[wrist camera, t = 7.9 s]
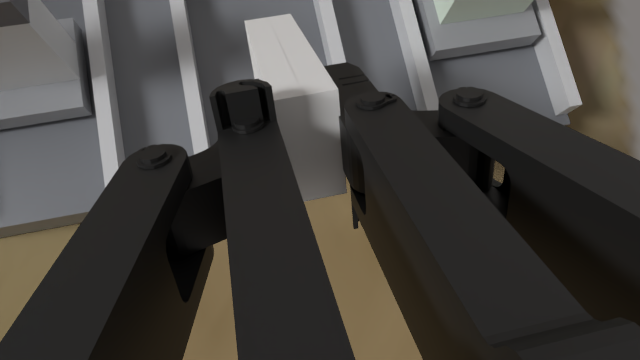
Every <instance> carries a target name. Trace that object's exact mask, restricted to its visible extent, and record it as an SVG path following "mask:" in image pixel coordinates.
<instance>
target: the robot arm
mask: <svg viewBox="0 0 640 360" xmlns="http://www.w3.org/2000/svg"><path fill="white" fill-rule="evenodd" d="M244 22H245V28H246V33H247V39H248V45H249V50H250V56H251V62H252V67H253V73H254V78H255V79H246V80H237V81H233V82H229V83H226V84H223V85H221V86H219V87H217V88H216V89H214V90H213V91H212V92H211V93H210V96H209V99H210V103H211V107H212V111H213V116H214V120H215V124H216V128H217V134H218V141H217V142H216V143H215V144H213V145H212V146H211V147H209V148H208V149H206V150H204V151H202V152H199V153H197V154H194V155H192V156H189V157H188V155H187V151H186V150H185V149H184V148H183V147H181V146H178V145H175V144H160V145H155V144H154V145H150V146H148V147H147V148H146V147H144V148H141V149H139V150H138V151H137V152H135V153H133V154H131V155H129V156H128V157H127V158H126V159H125V160H124V161H123V162H122V164H121V165H120V167H119V168H118V170H117V171H116V173H115V174H114V176H113V177H112V179H111V180H110V182H109V183H108V184H107V186H106V187H105V189H104V190H103V192H102V193H101V195H100V196H99V198H98V199H97V201H96V202H95V204H94V205H93V207H92V208H91V210H90V211H89V212H88V214H87V215H86V217H85V218H84V220H83V221H82V223H81V224H80V226H79V227H78V229H77V230H76V232H75V233H74V235H73V236H72V237H71V239H70V240H69V242H68V243H67V245H66V246H65V248H64V249H63V251H62V252H61V254H60V255H59V257H58V258H57V260H56V261H55V263H54V264H53V265H52V267H51V268H50V270H49V271H48V273H47V274H46V276H45V277H44V279H43V280H42V282H41V283H40V285H39V286H38V288H37V289H36V290H35V292H34V293H33V295H32V296H31V298H30V299H29V301H28V302H27V304H26V305H25V307H24V308H23V310H22V311H21V313H20V314H19V316H18V317H17V318H16V320H15V321H14V323H13V324H12V326H11V327H10V329H9V330H8V332H7V333H6V335H5V336H4V338H3V339H2V341H1V342H0V360H182V359H183V356H184V353H185V349H186V346H187V343H188V339H189V336H190V333H191V329H192V326H193V323H194V319H195V316H196V313H197V309H198V306H199V303H200V300H201V296H202V293H203V290H204V286H205V283H206V280H207V276H208V273H209V270H210V266H211V263H212V260H213V256H214V248H213V244H215V243H218V242H220V241H222V240H225V239H227V243H228V254H229V265H230V276H231V287H232V297H233V308H234V319H235V330H236V341H237V352H238V360H355V357H354V354H353V351H352V348H351V345H350V342H349V339H348V336H347V333H346V330H345V327H344V324H343V321H342V318H341V315H340V311H339V308H338V305H337V302H336V299H335V296H334V293H333V290H332V287H331V284H330V281H329V278H328V275H327V272H326V269H325V266H324V263H323V260H322V257H321V253H320V250H319V247H318V244H317V241H316V238H315V235H314V232H313V229H312V226H311V223H310V220H309V217H308V214H307V211H306V208H305V205H304V201H309V200H314V199H319V198H324V197H329V196H334V195H339V194H344V193H347V189H346V177H347V179H348V181H349V183H350V188H351V201H352V214H353V226H354V229H356V228H358V221H359V220H360V222H361V225H362V227H363V229H364V231H365V233H366V236H367V238H368V240H369V242H370V244H371V247H372V249H373V251H374V253H375V255H376V258H377V260H378V262H379V264H380V266H381V268H382V271H383V273H384V275H385V277H386V279H387V282H388V284H389V286H390V288H391V290H392V293H393V295H394V297H395V299H396V301H397V303H398V306H399V308H400V310H401V312H402V314H403V317H404V319H405V321H406V323H407V325H408V328H409V330H410V332H411V334H412V336H413V339H414V341H415V343H416V345H417V347H418V349H419V352H420V354H421V356H422V358H423V360H640V161H639V160H637V159H635V158H633V157H630V156H628V155H626V154H624V153H622V152H620V151H618V150H616V149H613V148H611V147H609V146H607V145H605V144H603V143H601V142H598V141H596V140H594V139H592V138H590V137H588V136H586V135H583V134H581V133H579V132H577V131H575V130H573V129H571V128H569V127H566V126H564V125H562V124H560V123H558V122H556V121H554V120H551V119H549V118H547V117H545V116H543V115H541V114H539V113H537V112H534V111H532V110H530V109H528V108H526V107H524V106H522V105H519V104H517V103H515V102H513V101H511V100H509V99H507V98H504V97H502V96H500V95H498V94H496V93H494V92H491V91H488V90H485V89H479V88H475V87H467V88H466V87H459V88H458V89H454V90H450V91H447V92H445V93H443V94H442V95H441V96H440V97H439V100H438V110H425V111H417V110H411V109H410V108H409V107H408V106H407V105H406V104H405V102H404V101H403V100H402V99H401V98H400V97H398V96H397V95H395V94H392V93H388V92H379V91H378V90H377V89H376V88H375V86H374V85H373V84H372V83H371V81H369V79H368V78H367V76H366V75H365V74H364V73H363V71H362V70H361V69H360V68H359V67H358V66H355V65H353V64H350V63H348V62H345V63H339V64H333V65H327V66H323V64H322V63H321V61H320V60H319V58H318V56H317V55H316V53H315V52H314V50H313V49H312V47H311V45H310V44H309V42H308V41H307V39H306V38H305V36H304V34H303V33H302V31H301V30H300V28H299V27H298V25H297V23H296V22H295V20H294V19H293V17H292V15H291V14H285V15H278V16H272V17H265V18H259V19H252V20H246V21H244ZM495 160H496V161H497V162H499V163H500V164H501V165H502V166H504V168H505V172H504V180H503V183H500V182H498V181H496V180H495V179H493V172H494V163H495ZM345 175H346V177H345Z"/></svg>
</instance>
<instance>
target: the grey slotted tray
mask: <svg viewBox="0 0 640 360" xmlns="http://www.w3.org/2000/svg"><path fill="white" fill-rule="evenodd" d="M41 1H42V3H43V4H44V5H45V6H46V7H47V9H48V10H49V11H50V12H51V14H52V15H53V16H54V17H55V19H56V20H59V19H66V18H73V19H74V20H75V21H76V23H77V24H78V25H79V27H80V28H81V29H82V36H83V44H84V53H85V61H86V69H87V77H88V86H89V94H90V102H91V110H92V115H89V116H82V117H76V118H70V119H64V120H57V121H51V122H45V123H39V124H32V125H26V126H20V127H14V128H7V129H1V130H0V238H2V237H8V236H13V235H19V234H24V233H29V232H35V231H40V230H46V229H51V228H57V227H62V226H67V225H73V224H78V223H82V221H83V220H84V218H85V217H86V215H87V214H88V212H89V211H90V210H91V208H92V207H93V205H94V204H95V202H96V201H97V199H98V198H99V196H100V195H101V193H102V192H103V190H104V189H105V187H106V186H107V184H108V183H109V182H110V180H111V179H112V177H113V176H114V174H115V173H116V171H117V170H118V168H119V167H120V165H121V164H122V162H123V161H124V160H125V159H126V158H127V157H128V156H129V155H131V154H133V153H135V152H137V151H138V150H139V149H141V148H144V147H146V148H147V147H148V146H150V145H154V144H155V145H160V144H175V145H178V146H181V147H183V148H184V149H185V150H186V151H187V155H188V157H189V156H192V155H194V154H197V153H199V152H202V151H204V150H206V149H208V148H209V147H211V146H212V145H213V144H215V143H216V142H217V141H218V134H217V128H216V124H215V120H214V116H213V111H212V107H211V103H210V99H209V96H210V93H211V92H212V91H213V90H214V89H216V88H217V87H219V86H221V85H223V84H226V83H229V82H233V81H237V80H246V79H255V78H254V73H253V67H252V62H251V56H250V50H249V45H248V39H247V33H246V28H245V22H244V21H246V20H252V19H259V18H265V17H272V16H278V15H285V14H291V15H292V17H293V19H294V20H295V22H296V23H297V25H298V27H299V28H300V30H301V31H302V33H303V34H304V36H305V38H306V39H307V41H308V42H309V44H310V45H311V47H312V49H313V50H314V52H315V53H316V55H317V56H318V58H319V60H320V61H321V63H322V64H323V66H327V65H333V64H339V63H345V62H348V63H350V64H353V65H355V66H358V67H359V68H360V69H361V70H362V71H363V73H364V74H365V75H366V76H367V78H368V79H369V81H371V83H372V84H373V85H374V86H375V88H376V89H377V90H378V91H379V92H388V93H392V94H395V95H397V96H398V97H400V98H401V99H402V100H403V101H404V102H405V104H406V105H407V106H408V107H409V108H410V109H411V110H417V111H425V110H438V100H439V97H440V96H441V95H442V94H443V93H445V92H447V91H450V90H454V89H458V88H459V87H466V88H467V87H475V88H479V89H485V90H488V91H491V92H494V93H496V94H498V95H500V96H502V97H504V98H507V99H509V100H511V101H513V102H515V103H517V104H519V105H522V106H524V107H526V108H528V109H530V110H532V111H534V112H537V113H539V114H541V115H543V116H545V117H547V118H549V119H551V120H554V121H556V122H558V123H560V124H562V125H564V126H568V125H569V124H571V123H570V120H569V117H568V113H569V112H571V111H573V110H574V109H576V108H577V107H579V106H581V105H582V101H581V98H580V95H579V92H578V89H577V86H576V83H575V80H574V77H573V74H572V71H571V68H570V65H569V62H568V59H567V55H566V52H565V49H564V46H563V43H562V40H561V37H560V34H559V31H558V28H557V25H556V22H555V19H554V16H553V13H552V10H551V7H550V4H549V1H548V0H534V1H533V2H532V3H531V4H532V7H533V10H534V13H535V16H536V19H537V23H538V26H539V29H540V32H541V35H540V36H539V37H538V38H537V39H536V40H535V41H534V42H533V43H532V44H531V45H526V46H520V47H514V48H507V49H501V50H495V51H489V52H482V53H476V54H470V55H464V56H457V57H451V58H445V59H439V60H432V61H429V57H428V54H427V50H426V46H425V42H424V39H423V35H422V31H421V28H420V24H419V20H418V16H417V13H416V9H415V5H414V1H413V0H41Z"/></svg>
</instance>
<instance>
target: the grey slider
mask: <svg viewBox="0 0 640 360" xmlns="http://www.w3.org/2000/svg"><path fill="white" fill-rule="evenodd" d="M89 115H92V110H91V102H90V94H89V86H88V77H87V69H86V61H85V53H84V44H83V36H82V29H81V28H80V27H79V25H78V24H77V23H76V21H75V20H74V19H73V18H66V19H59V20H56V19H55V17H54V16H53V15H52V14H51V12H50V11H49V10H48V9H47V7H46V6H45V5H44V4H43V3H42V1H41V0H0V130H1V129H7V128H14V127H20V126H26V125H32V124H39V123H45V122H51V121H57V120H64V119H70V118H76V117H82V116H89Z"/></svg>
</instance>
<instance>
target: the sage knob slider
mask: <svg viewBox="0 0 640 360" xmlns="http://www.w3.org/2000/svg"><path fill="white" fill-rule="evenodd" d="M413 1H414V5H415V9H416V13H417V16H418V20H419V24H420V28H421V31H422V35H423V39H424V42H425V46H426V50H427V54H428V57H429V61H432V60H439V59H445V58H451V57H457V56H464V55H470V54H476V53H482V52H489V51H495V50H501V49H507V48H514V47H520V46H526V45H531V44H532V43H533V42H534V41H535V40H536V39H537V38H538V37H539V36H540V35H541V32H540V29H539V26H538V23H537V19H536V16H535V13H534V10H533V7H532V4H531V3H532V2H533V1H534V0H413Z"/></svg>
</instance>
